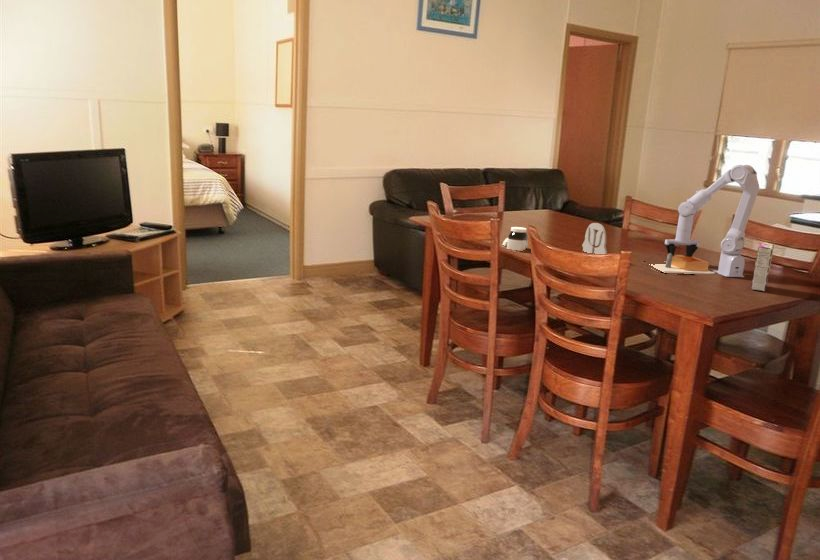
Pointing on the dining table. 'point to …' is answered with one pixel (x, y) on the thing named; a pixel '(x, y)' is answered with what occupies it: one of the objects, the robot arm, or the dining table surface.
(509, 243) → the spread jar
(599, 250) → the ornament
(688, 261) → the wooden link
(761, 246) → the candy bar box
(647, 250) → the dining table surface
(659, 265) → the board
